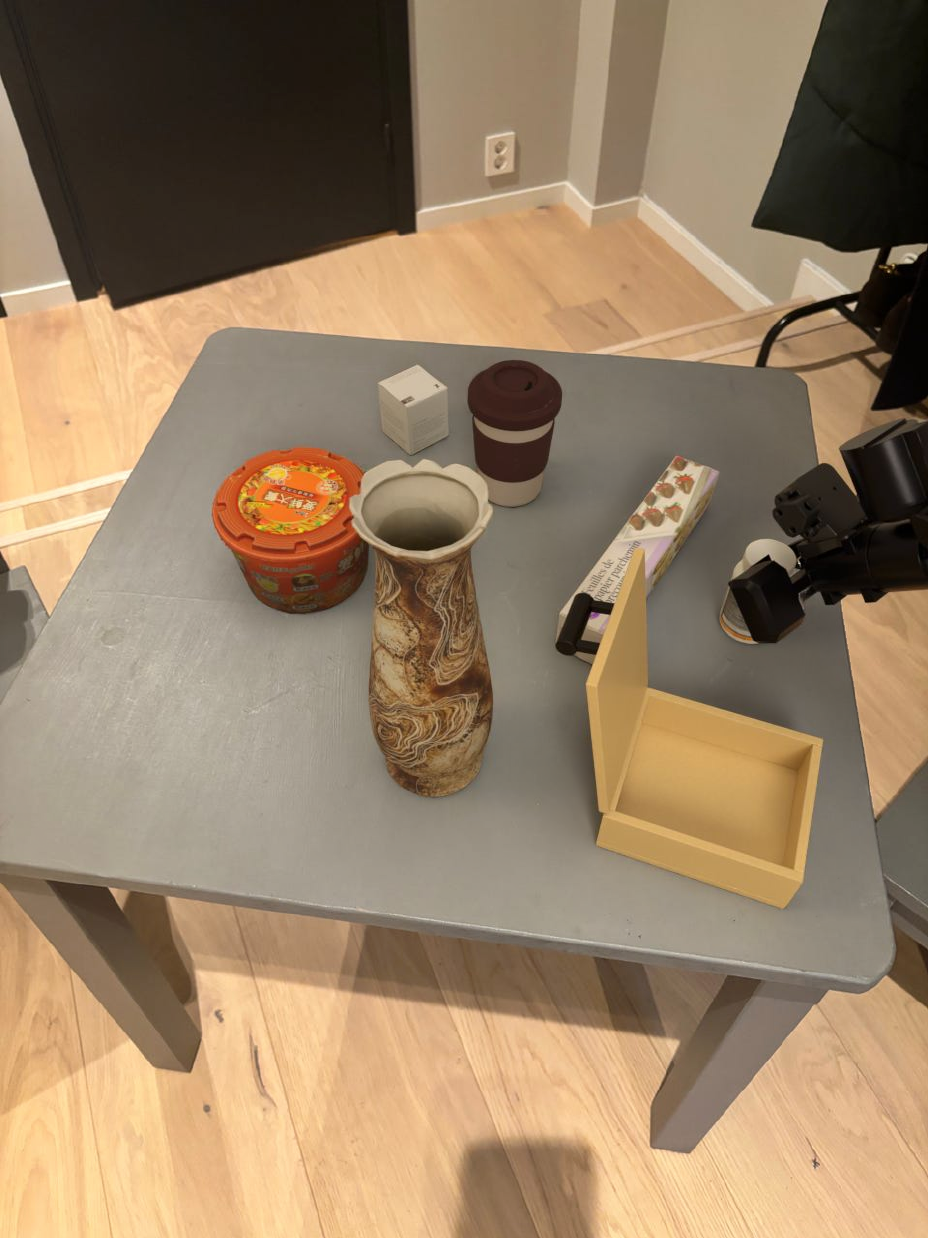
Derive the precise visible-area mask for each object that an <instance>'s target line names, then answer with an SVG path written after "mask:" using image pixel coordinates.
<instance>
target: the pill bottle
mask: <svg viewBox="0 0 928 1238" xmlns="http://www.w3.org/2000/svg"><path fill="white" fill-rule="evenodd" d="M787 545H788V544H785V543H784V542H782V541H779V540H777V539H772V538H760V539H757V540H754V541H752V542H750V544H748V545H747V547H746V548H745V550H744V553H743V556H742V559H741V560H740V561H739V562H738V563H737V564H736V565H735V567H734V568H733V571H732V573H731V576H730V580H729V581H731V580H733V579H734V578H736V577H737V576H739V575H740V574H742V573H743V572H745V571H746V570H748V569H749V568H750V567H751V566H752V565H753V564H755V563H756V562H758V561H759V560H761V559H762V558H764V557H765V556H767V555H768V554H769V555H770V557H771V560H772V561H773V560H774V561H776V562H777V563H778V564H780V565H781V566H783V567H784V568H785V569H786V570H787V572H788V575H789V577H791V576H793V575H794V571H795V570H796V569H795V566H796V556H795V554H794V552H793V551H792V549H791V548H789V547H788V546H787ZM719 624H720V626H721V628H722V630H723V631H724V632H725V633H726V635H727V636H729V637H730V638H732V639H733V640H735V641H736V642H739V643H743V644H747V645H756V644H758V643H757V642H754V641H753V639H752V637H751V635H750V632H749V630H748V628H747V625H746V623H745V621H744V619H743V616H742V614H741V612H740V609H739V607H738V605H737V603H736V600H735V598H734V596H733V593H732V592H731V590H730V587H729V585H728V587H727V589H726V593H725V595H724V598H723V602H722V604H721V608H720V612H719Z"/></svg>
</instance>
